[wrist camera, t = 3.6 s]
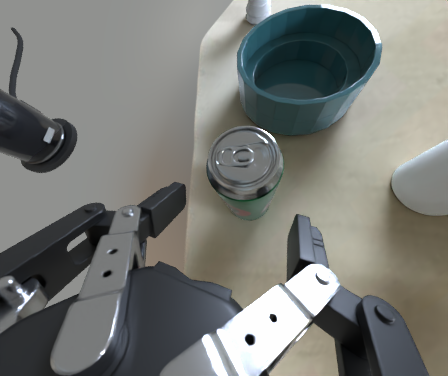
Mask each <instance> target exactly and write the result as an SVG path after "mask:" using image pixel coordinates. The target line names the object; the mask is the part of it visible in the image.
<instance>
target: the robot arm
mask: <svg viewBox="0 0 448 376" xmlns="http://www.w3.org/2000/svg"><path fill="white" fill-rule="evenodd" d="M11 30H12V31H13V33H14V34H15V35H16V36H17V40H18V45H17V50H16V55H15V60H14V64H13V67H12V70H11V75H10V83H9V94H8V93H6V92H4V91H3V90H1V89H0V152H1V153H3V154H6V155H9V156H12V157H14V158H17V159H20V160H23V161H25V162H27V163H30V164H33V165H40V164H44V163H46V162H48V161H50V160H51V159H53V158H54V157H55V156H56V155H57V154H58V153H59V152H60V151H61V149H62V147H63V146H64V143H65V141H66V130H65V128H64V127H63V126H62V125H61V124H59V123H57V122H55V121H53V120H51V119H50V118H48V117H46V116H45V115H43V114H42V113H41V112H40V111H38V110H37V109H35V108H33V107H32V106H30V105H28V104H27V103H25V102H23V101H22V100H18V99H17V97H16V93H15V89H16V78H17V74H18V70H19V66H20V62H21V57H22V51H23V40H22V37H21V36H20V34H19V33H18V32H17V31H16V29H15V28H11ZM185 205H186V187H185V185H184V184H181V183H177V182H174V183H172V184H171V185H170V186H168V187H164V188H162V189H160V190H158V191H157V192H156V193H154V194H153V195H152V196H150V197H148V198H147V199H146V200H144V201H143V202H141V203H140V204H139V205H137V206H134V205H129V206H125V207H122V208H120V209H118V210H117V211H106V209H105V206H104V205H103V204H101V203H91V204H87V205H84V206H82V207H81V208H79V209H77V210H75V211H73V212H72V213H70V214H68V215H66V216H65V217H63V218H61V219H59V220H58V221H56V222H54V223H52V224H51V225H49V226H47V227H45V228H44V229H42V230H40V231H38V232H37V233H35V234H33V235H31V236H30V237H28V238H26V239H25V240H23V241H21V242H19V243H17V244H16V245H14V246H12V247H10V248H9V249H7V250H5V251H3V252H2V253H0V376H269V373H270V372H271V371H272V370H273V369H274V368H275V367H276V366H277V364H278V363H279V362H280V361H281V360H282V359H283V358H284V356H285V355H286V354H287V353H288V351H289V350H290V349H291V348H292V347H293V346H294V344H295V343H296V342H297V341H298V340H299V339H300V338H301V337H302V336H303V334H304V333H305V332H306V331H307V330H308V329H309V328H310V327H311V325H312V324H313V323H315V324H316V325H317V326H319V327H320V328H321V329H323V330H324V331H325V332H327V333H328V334H329V335H331V336H332V337H333V338H334V339H335V347H336V355H337V363H338V371H339V376H429V374H428V371H427V369H426V367H425V365H424V363H423V360H422V358H421V356H420V354H419V351H418V349H417V347H416V345H415V343H414V340H413V338H412V336H411V334H410V331H409V329H408V327H407V325H406V323H405V321H404V319H403V318H402V316H401V315H400V314H399V312H398V311H397V310H396V309H395V308H394V307H393V306H391V305H390V304H389V303H387V302H386V301H384V300H383V299H381V298H378V297H376V296H372V295H368V296H365V297H364V298H363V299H362V298H360V297H358V296H357V295H355V294H353V293H351V292H350V291H348V290H347V289H345V288H344V287H342V286H341V285H340V283H339V280H338V279H337V277H336V276H335V274H334V273H333V272H332V271H331V270H329V265H328V261H327V256H326V252H325V248H324V243H323V238H322V234H321V233H320V231H319V230H318V229H317V227H313V226H311V224H310V218H309V217H306V216H303V215H299V214H296V216H295V218H294V221H293V224H292V226H291V229H290V231H289V235H288V241H287V283H286V284H284V285H283V284H282V283H280V284H278V285H276V286H275V287H274V288H272V289H271V290H270V291H268V292H267V293H266V294H264V295H263V296H262V297H260V298H259V299H258V300H256V301H255V302H254V303H252V304H251V305H250V306H249V307H247V308H246V309H245V310H243V309H242V308H241V306H240V305H239V304H238V303H237V302H236V301H235V300H234V299H233V298H231V293H232V290H230V289H228V288H225V287H223V286H220V285H218V284H215V283H213V282H205V281H197V280H191V279H189V278H188V277H187V276H185V275H184V274H183V273H181V272H180V271H179V270H178V269H177V268H175V267H173V266H170V265H168V264H165V263H163V262H160V261H159V262H158V263H157V264H156V265H155V267H154V266H148V267H145V259H146V246H147V240H146V238H147V237H148V236H151V237H153V238H156V237H157V236H158V235H159V234H160V233H161V232H162V231H163V230H164V229H165V228H166V227H167V226H168V225H169V224H170V223H171V222H172V221H173V219H174V218H175V217H176V216H177V215H178V214H179V213H180V212H181V211H182V210H183V209H184V207H185ZM83 232H85V233H86V235H87V238H86V239H85V240H84V241H82V242H81V243H80V244H78V245H77V246H76V247H74V248H73V249H72V250H70V251H69V252H68V251H67V246H68V244H69V243H70V242H71V241H72V240H74V239H75V238H76V237H78V236H79V235H81V234H82V233H83ZM88 265H90V267H89V270H88V272H87V275H86V278H85V280H84V283H83V286H82V288H81V291H80V293H79V294H77V295H74V296H72V297H70V298H68V299H65V300H63V301H61V302H58V303H56V304H54V305H52V306H49V307H47V308H45V306H46V305H47V303H48V301H50V300H51V299H52V298H53V297H54V296H55V295H56V294H57V293H58V292H60V291H61V290H62V289H63V288H64V287H65V286H66V285H67V284H68V283H70V282H71V281H72V280H73V279H74V278H75V277H76V276H77V275H78V274H80V273H81V272H82V271H83V270H84V269H85V268H86V267H87V266H88ZM44 308H45V309H44Z"/></svg>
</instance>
